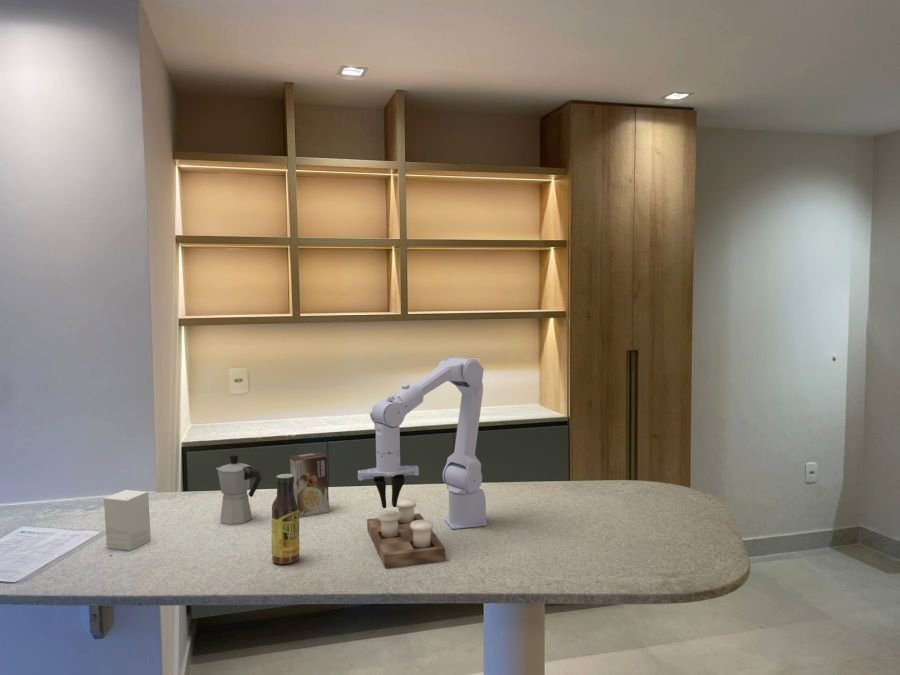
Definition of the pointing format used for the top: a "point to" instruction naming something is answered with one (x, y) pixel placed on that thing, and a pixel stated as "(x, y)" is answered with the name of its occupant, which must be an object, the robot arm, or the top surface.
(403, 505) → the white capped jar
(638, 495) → the top surface
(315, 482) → the coffee box
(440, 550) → the knob panel
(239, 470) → the coffee maker
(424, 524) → the knob camera side
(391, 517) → the knob middle
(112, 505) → the supplement box
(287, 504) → the sauce bottle
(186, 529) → the top surface
